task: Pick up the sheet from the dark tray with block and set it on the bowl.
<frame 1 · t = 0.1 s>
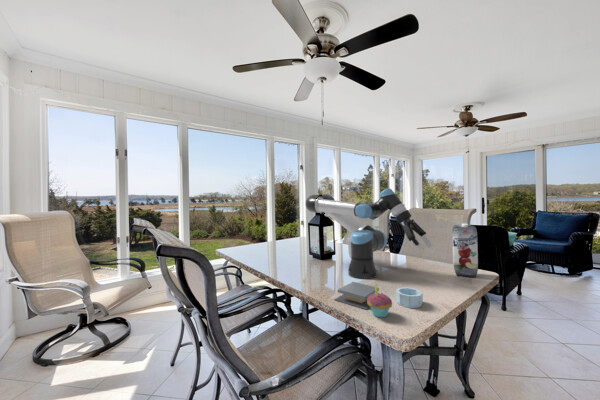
hand: (426, 248, 126), 15 cm above the table, tool tilted 35°, fingers open, 13 cm apart
dark tray with block: (358, 299, 103), on the table
cupcake: (379, 314, 89), on the table
bowl: (409, 303, 98), on the table
juice carton: (465, 275, 131), on the table
sheet: (358, 291, 103), point 3 cm above the table, touching dark tray with block
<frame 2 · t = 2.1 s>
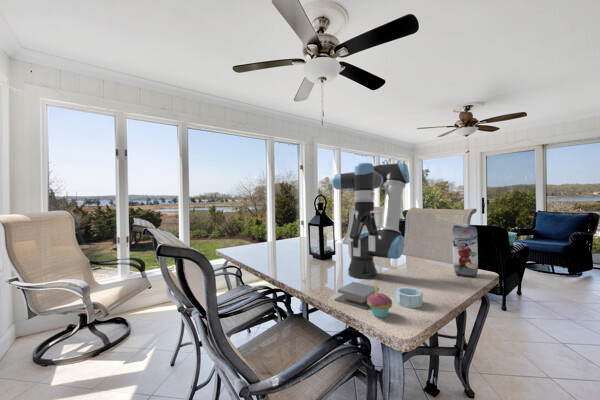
hand: (364, 253, 102), 19 cm above the table, tool pointing down, fingers open, 13 cm apart
nothing on the table moved.
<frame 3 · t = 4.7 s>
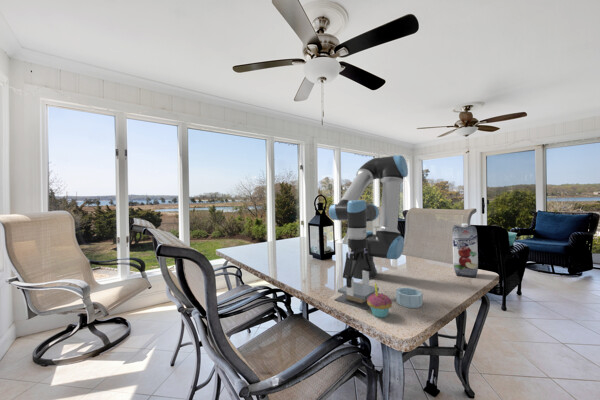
hand: (358, 290, 103), 4 cm above the table, tool pointing down, fingers closed on sheet, 12 cm apart
sheet: (358, 291, 103), point 3 cm above the table, touching gripper, dark tray with block
everything else where it was.
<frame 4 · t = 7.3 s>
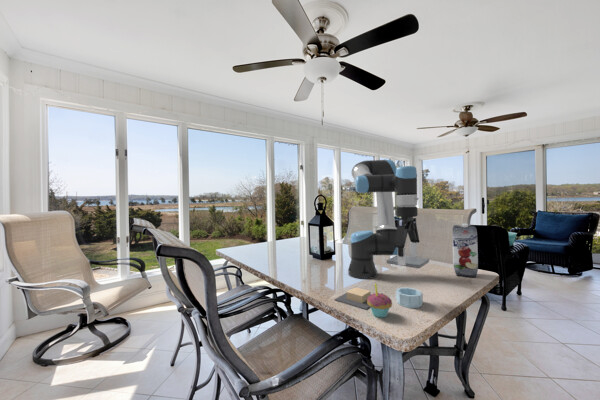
hand: (407, 261, 98), 16 cm above the table, tool pointing down, fingers closed on sheet, 12 cm apart
sheet: (408, 262, 98), point 16 cm above the table, touching gripper
everything else where it was.
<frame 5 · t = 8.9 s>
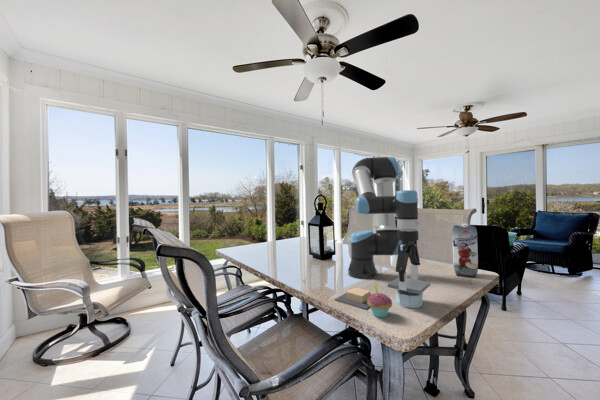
hand: (408, 285, 98), 7 cm above the table, tool pointing down, fingers closed on sheet, 12 cm apart
sheet: (408, 286, 98), point 7 cm above the table, touching gripper
everything else where it was.
when the fingers open (7 cm above the table, at t = 10.1 s): sheet drops 2 cm, resting on bowl.
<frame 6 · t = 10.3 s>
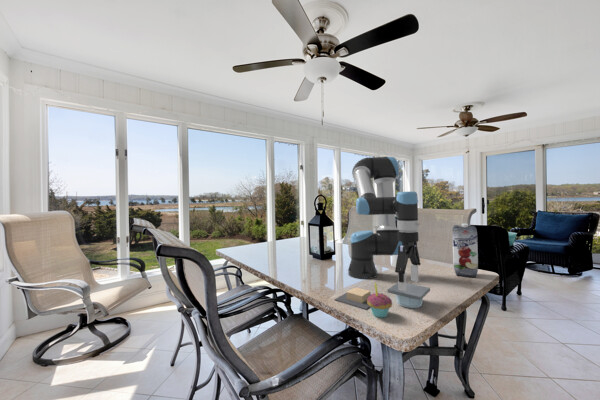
hand: (408, 285, 98), 7 cm above the table, tool pointing down, fingers open, 13 cm apart
sheet: (408, 291, 98), point 4 cm above the table, touching bowl
everything else where it was.
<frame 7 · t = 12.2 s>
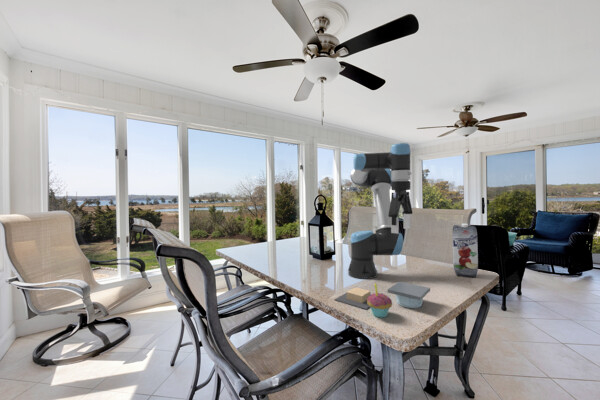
hand: (401, 230, 107), 27 cm above the table, tool pointing down, fingers open, 13 cm apart
nothing on the table moved.
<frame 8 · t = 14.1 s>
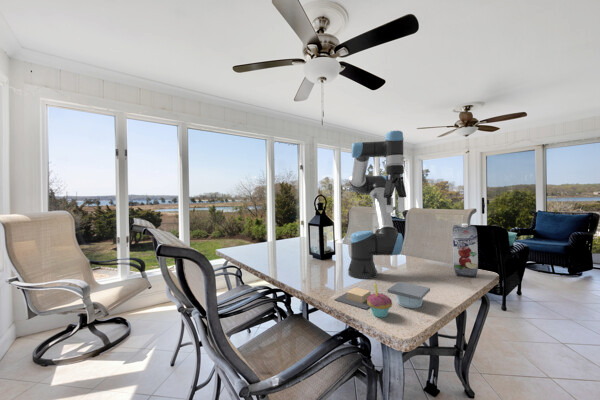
hand: (395, 211, 115), 35 cm above the table, tool pointing down, fingers open, 13 cm apart
nothing on the table moved.
at the end: sheet 0.0 cm off-centre on the bowl, point 4.5 cm above the bowl's base; sheet tilted 0°; the gripper is holding nothing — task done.
